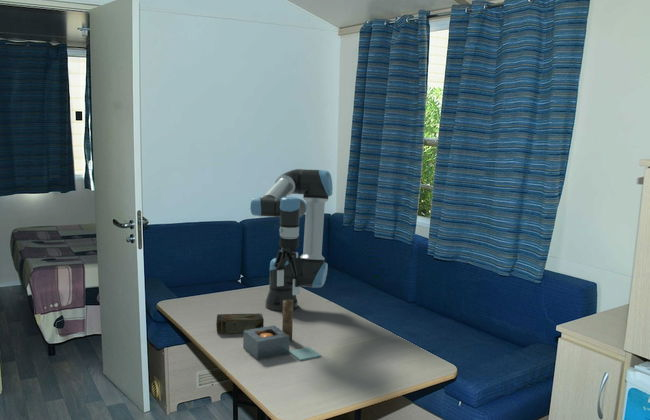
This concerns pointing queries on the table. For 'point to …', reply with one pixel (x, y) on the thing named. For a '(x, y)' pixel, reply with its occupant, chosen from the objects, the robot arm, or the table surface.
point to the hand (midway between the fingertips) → (288, 290)
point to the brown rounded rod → (287, 317)
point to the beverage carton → (238, 322)
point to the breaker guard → (266, 342)
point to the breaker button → (265, 335)
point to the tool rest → (304, 353)
